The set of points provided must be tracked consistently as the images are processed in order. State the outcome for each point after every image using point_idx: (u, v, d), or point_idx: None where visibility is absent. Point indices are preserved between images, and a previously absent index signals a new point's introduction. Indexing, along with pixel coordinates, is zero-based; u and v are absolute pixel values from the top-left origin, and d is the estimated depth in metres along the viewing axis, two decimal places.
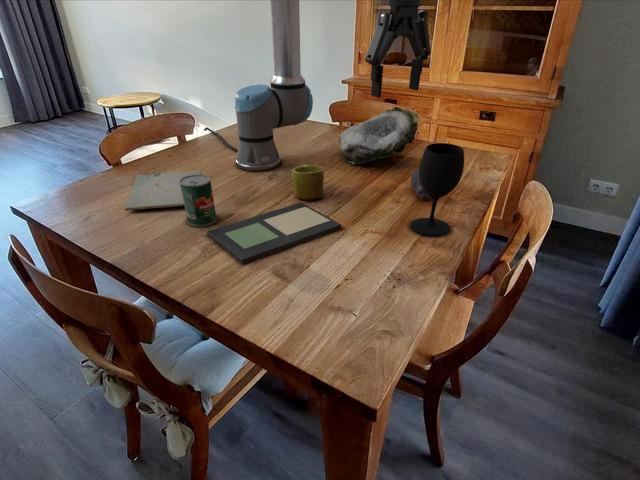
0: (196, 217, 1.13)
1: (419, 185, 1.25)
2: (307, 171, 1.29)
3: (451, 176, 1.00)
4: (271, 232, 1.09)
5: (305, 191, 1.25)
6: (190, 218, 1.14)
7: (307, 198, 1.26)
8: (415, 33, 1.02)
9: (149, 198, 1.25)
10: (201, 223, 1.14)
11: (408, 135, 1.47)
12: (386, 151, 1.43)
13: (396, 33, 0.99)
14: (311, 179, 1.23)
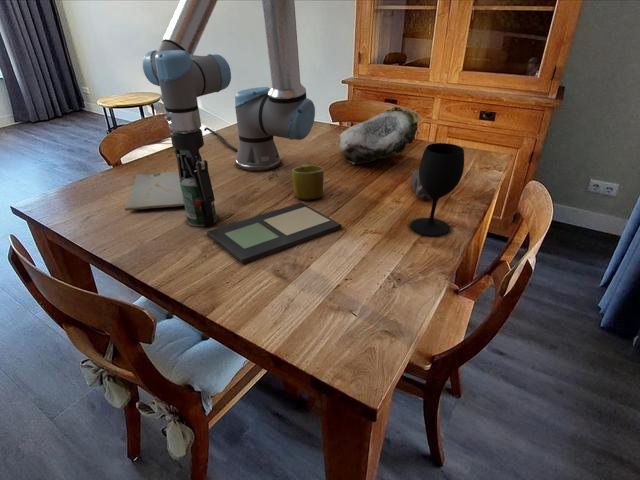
0: (196, 217, 1.13)
1: (419, 185, 1.25)
2: (307, 171, 1.29)
3: (451, 176, 1.00)
4: (271, 232, 1.09)
5: (305, 191, 1.25)
6: (190, 218, 1.14)
7: (307, 198, 1.26)
8: (190, 173, 1.06)
9: (149, 198, 1.25)
10: (201, 223, 1.14)
11: (408, 135, 1.47)
12: (386, 151, 1.43)
13: (181, 167, 1.09)
14: (311, 179, 1.23)
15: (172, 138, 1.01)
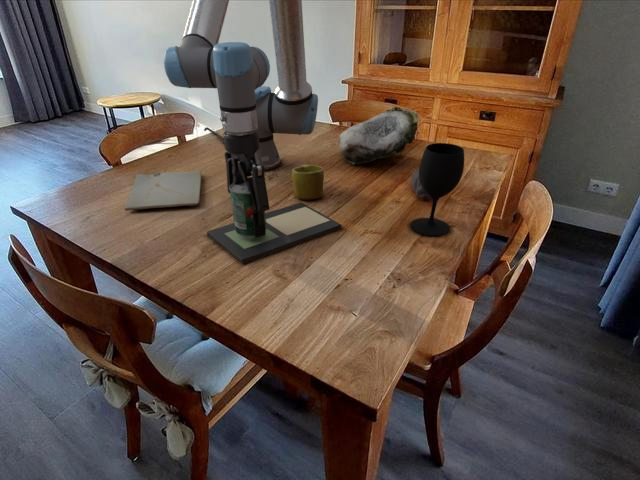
0: (246, 227, 1.03)
1: (419, 185, 1.25)
2: (307, 171, 1.29)
3: (451, 176, 1.00)
4: (271, 232, 1.09)
5: (305, 191, 1.25)
6: (240, 228, 1.04)
7: (307, 198, 1.26)
8: (243, 179, 0.96)
9: (149, 198, 1.25)
10: (251, 234, 1.04)
11: (408, 135, 1.47)
12: (386, 151, 1.43)
13: (232, 172, 0.99)
14: (311, 179, 1.23)
15: (226, 141, 0.91)
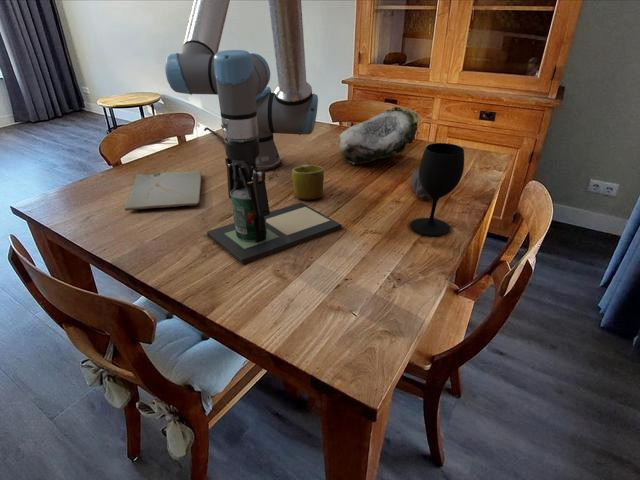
0: (247, 232, 1.04)
1: (419, 185, 1.25)
2: (307, 171, 1.29)
3: (451, 176, 1.00)
4: (271, 232, 1.09)
5: (305, 191, 1.25)
6: (240, 233, 1.05)
7: (307, 198, 1.26)
8: (244, 185, 0.97)
9: (149, 198, 1.25)
10: (252, 238, 1.05)
11: (408, 135, 1.47)
12: (386, 151, 1.43)
13: (233, 177, 1.00)
14: (311, 179, 1.23)
15: (227, 147, 0.92)
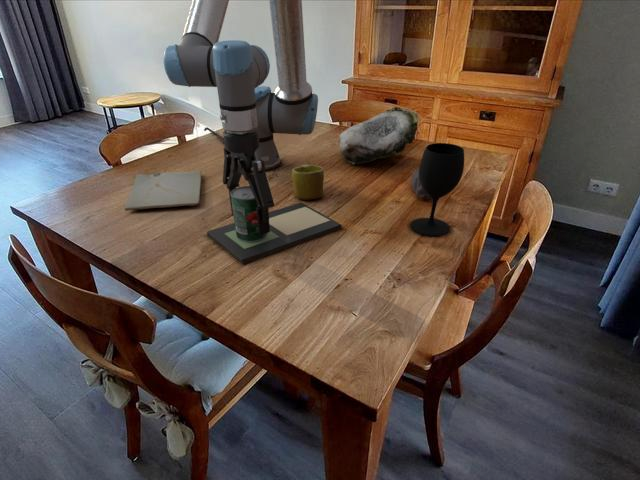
0: (247, 232, 1.04)
1: (419, 185, 1.25)
2: (307, 171, 1.29)
3: (451, 176, 1.00)
4: (271, 232, 1.09)
5: (305, 191, 1.25)
6: (241, 234, 1.05)
7: (307, 198, 1.26)
8: (245, 177, 0.95)
9: (149, 198, 1.25)
10: (252, 239, 1.05)
11: (408, 135, 1.47)
12: (386, 151, 1.43)
13: (230, 168, 0.99)
14: (311, 179, 1.23)
15: (226, 139, 0.91)
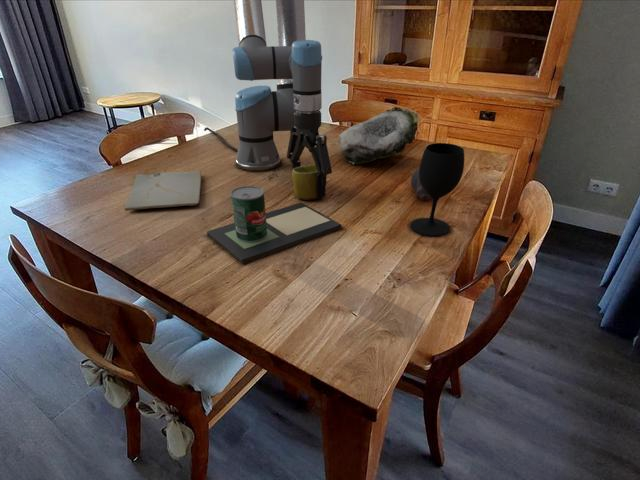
0: (247, 232, 1.04)
1: (419, 185, 1.25)
2: (307, 171, 1.29)
3: (451, 176, 1.00)
4: (271, 232, 1.09)
5: (305, 191, 1.25)
6: (241, 234, 1.05)
7: (307, 198, 1.26)
8: (309, 149, 1.20)
9: (149, 198, 1.25)
10: (252, 239, 1.05)
11: (408, 135, 1.47)
12: (386, 151, 1.43)
13: (296, 143, 1.23)
14: (311, 179, 1.23)
15: (296, 118, 1.15)
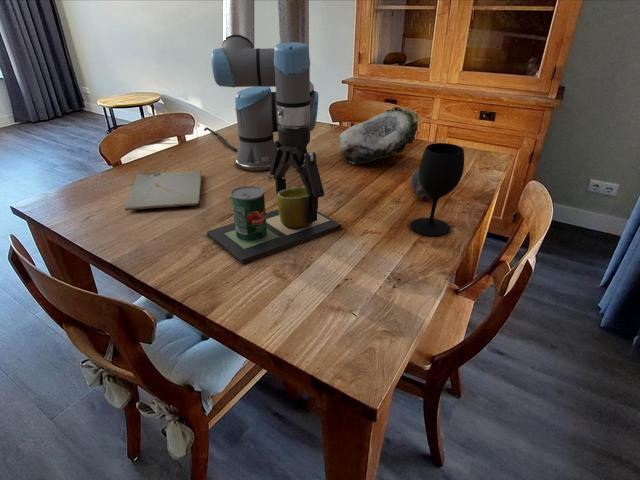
0: (247, 232, 1.04)
1: (419, 185, 1.25)
2: (295, 194, 1.13)
3: (451, 176, 1.00)
4: (271, 232, 1.09)
5: (291, 218, 1.08)
6: (241, 234, 1.05)
7: (294, 226, 1.09)
8: (296, 169, 1.03)
9: (149, 198, 1.25)
10: (252, 239, 1.05)
11: (408, 135, 1.47)
12: (386, 151, 1.43)
13: (281, 160, 1.06)
14: (299, 205, 1.06)
15: (281, 134, 0.98)
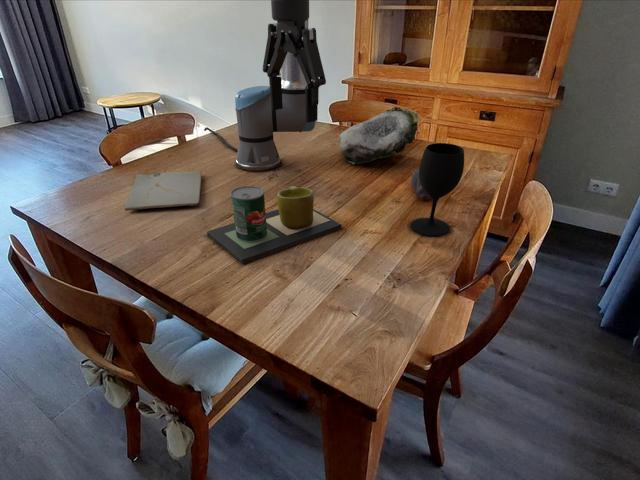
0: (247, 232, 1.04)
1: (419, 185, 1.25)
2: (295, 194, 1.13)
3: (451, 176, 1.00)
4: (271, 232, 1.09)
5: (291, 218, 1.08)
6: (241, 234, 1.05)
7: (294, 226, 1.09)
8: (293, 52, 0.87)
9: (149, 198, 1.25)
10: (252, 239, 1.05)
11: (408, 135, 1.47)
12: (386, 151, 1.43)
13: (275, 47, 0.91)
14: (299, 205, 1.06)
15: (275, 4, 0.83)
